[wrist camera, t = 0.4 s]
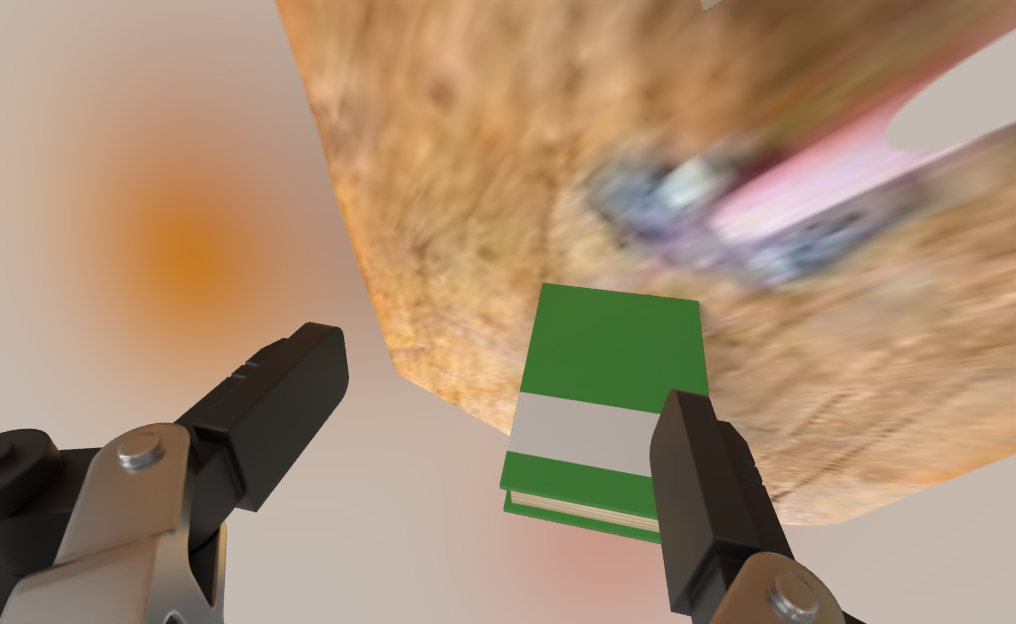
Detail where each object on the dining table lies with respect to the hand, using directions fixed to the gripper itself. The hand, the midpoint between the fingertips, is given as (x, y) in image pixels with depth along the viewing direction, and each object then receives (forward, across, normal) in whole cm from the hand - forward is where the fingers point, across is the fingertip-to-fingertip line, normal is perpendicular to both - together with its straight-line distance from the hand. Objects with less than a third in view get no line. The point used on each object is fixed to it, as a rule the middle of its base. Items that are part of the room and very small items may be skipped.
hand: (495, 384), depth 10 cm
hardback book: (+39, -8, +18) cm, 44 cm away
